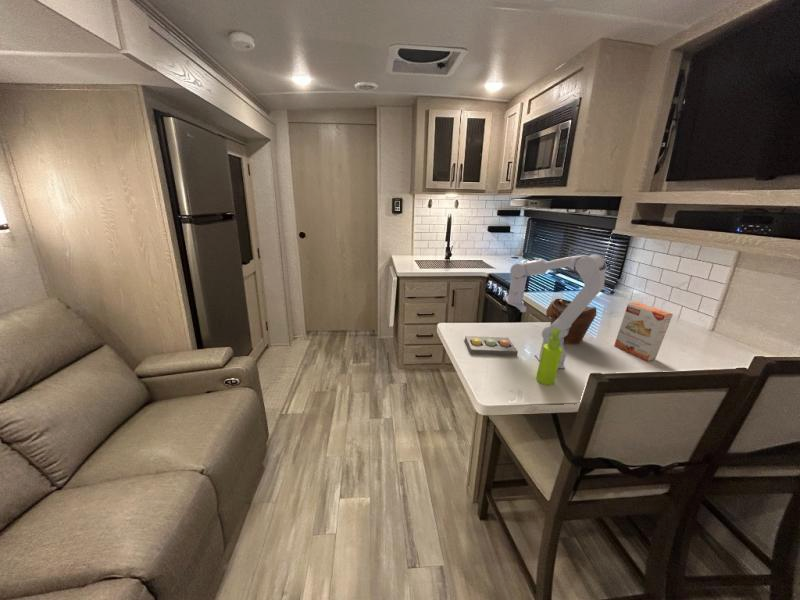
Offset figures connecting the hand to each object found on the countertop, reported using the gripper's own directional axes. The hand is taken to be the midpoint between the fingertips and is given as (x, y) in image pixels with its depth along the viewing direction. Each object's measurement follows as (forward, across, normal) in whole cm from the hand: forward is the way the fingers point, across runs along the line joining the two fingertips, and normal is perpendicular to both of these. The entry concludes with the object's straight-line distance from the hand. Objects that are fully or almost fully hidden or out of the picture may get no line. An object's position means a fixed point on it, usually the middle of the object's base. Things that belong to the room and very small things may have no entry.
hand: (510, 321), depth 130 cm
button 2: (+10, -4, +4) cm, 12 cm away
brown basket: (+11, +2, -31) cm, 33 cm away
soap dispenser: (+11, -28, +1) cm, 30 cm away
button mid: (+10, -3, +10) cm, 15 cm away
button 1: (+10, -2, +16) cm, 19 cm away
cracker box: (+11, -14, -52) cm, 55 cm away
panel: (+10, -3, +10) cm, 15 cm away
